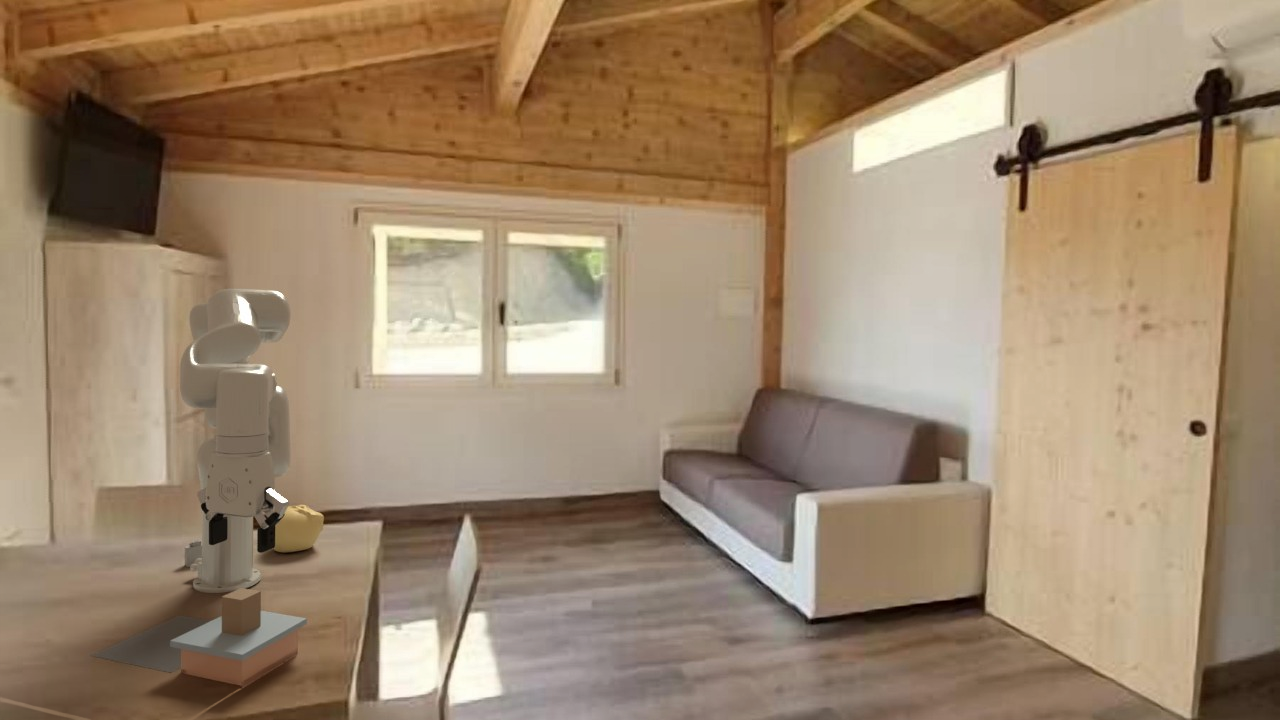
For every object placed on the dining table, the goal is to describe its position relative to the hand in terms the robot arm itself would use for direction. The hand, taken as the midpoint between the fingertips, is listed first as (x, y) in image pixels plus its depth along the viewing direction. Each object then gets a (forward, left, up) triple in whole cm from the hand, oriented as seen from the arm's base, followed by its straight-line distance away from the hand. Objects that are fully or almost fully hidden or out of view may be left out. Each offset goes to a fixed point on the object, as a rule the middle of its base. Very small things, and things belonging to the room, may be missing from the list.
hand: (242, 546), depth 118 cm
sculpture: (-33, +50, -20) cm, 63 cm away
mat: (-16, +2, -20) cm, 26 cm away
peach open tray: (0, 0, -20) cm, 20 cm away
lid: (0, 0, -15) cm, 15 cm away
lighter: (-45, +35, -20) cm, 60 cm away
